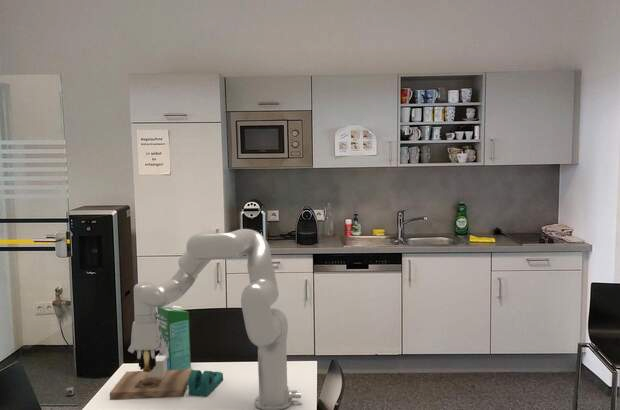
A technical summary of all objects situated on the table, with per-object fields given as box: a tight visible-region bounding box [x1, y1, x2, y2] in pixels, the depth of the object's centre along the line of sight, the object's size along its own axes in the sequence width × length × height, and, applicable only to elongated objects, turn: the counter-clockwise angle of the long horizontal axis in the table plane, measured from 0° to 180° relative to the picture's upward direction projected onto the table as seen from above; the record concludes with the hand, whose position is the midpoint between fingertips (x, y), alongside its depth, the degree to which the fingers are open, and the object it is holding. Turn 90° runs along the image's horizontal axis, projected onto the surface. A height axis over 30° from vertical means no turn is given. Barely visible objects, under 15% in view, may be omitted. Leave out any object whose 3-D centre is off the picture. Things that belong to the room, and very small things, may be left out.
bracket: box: [188, 369, 224, 398], centre depth 198 cm, size 18×7×8 cm, turn 168°
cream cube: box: [147, 355, 167, 378], centre depth 204 cm, size 6×6×6 cm
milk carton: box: [156, 305, 192, 370], centre depth 217 cm, size 9×9×25 cm
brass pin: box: [142, 350, 152, 372], centre depth 195 cm, size 3×3×8 cm
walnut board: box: [109, 368, 194, 401], centre depth 198 cm, size 25×20×2 cm
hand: (147, 367), depth 195 cm, fingers closed on brass pin, 3 cm apart
